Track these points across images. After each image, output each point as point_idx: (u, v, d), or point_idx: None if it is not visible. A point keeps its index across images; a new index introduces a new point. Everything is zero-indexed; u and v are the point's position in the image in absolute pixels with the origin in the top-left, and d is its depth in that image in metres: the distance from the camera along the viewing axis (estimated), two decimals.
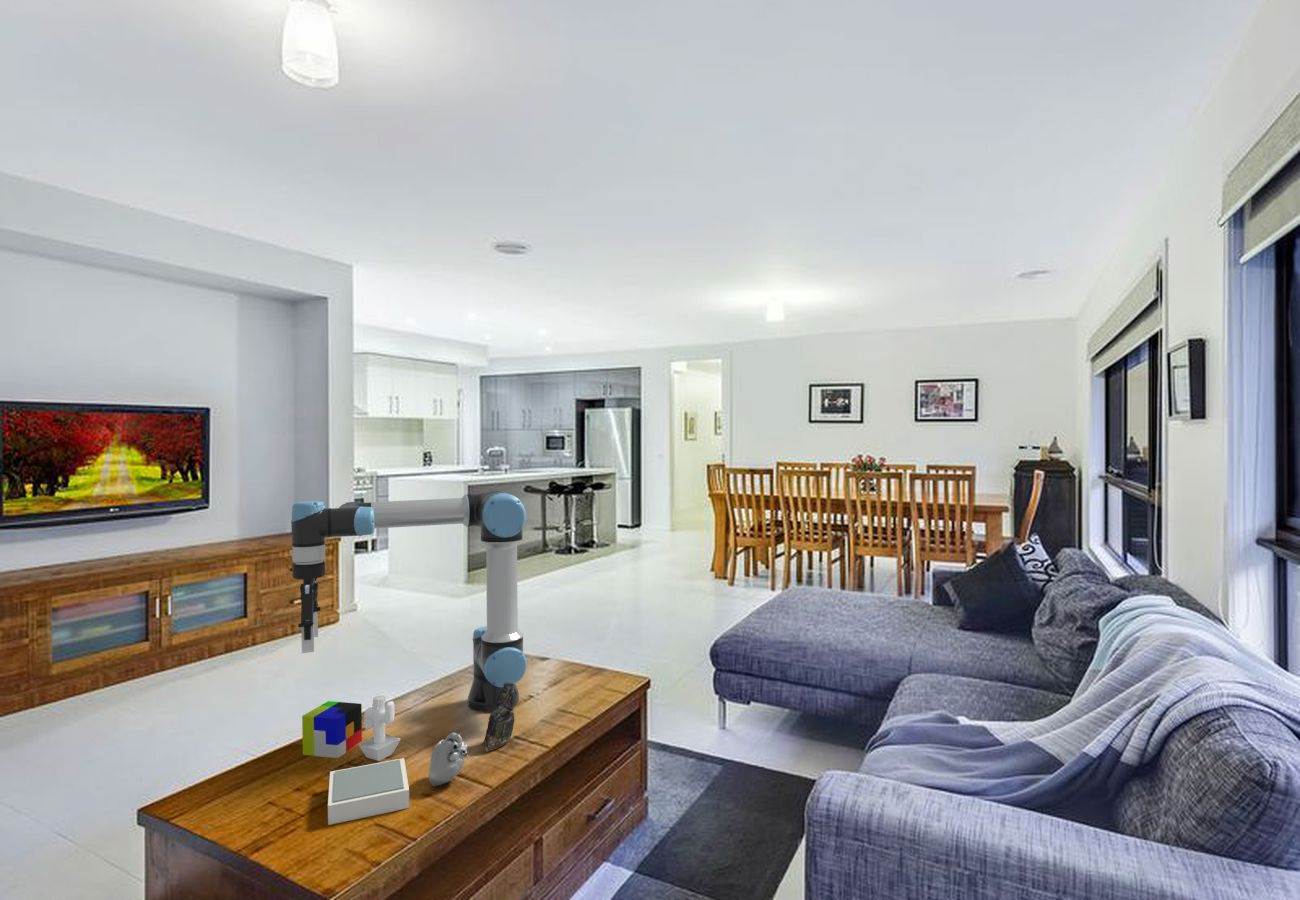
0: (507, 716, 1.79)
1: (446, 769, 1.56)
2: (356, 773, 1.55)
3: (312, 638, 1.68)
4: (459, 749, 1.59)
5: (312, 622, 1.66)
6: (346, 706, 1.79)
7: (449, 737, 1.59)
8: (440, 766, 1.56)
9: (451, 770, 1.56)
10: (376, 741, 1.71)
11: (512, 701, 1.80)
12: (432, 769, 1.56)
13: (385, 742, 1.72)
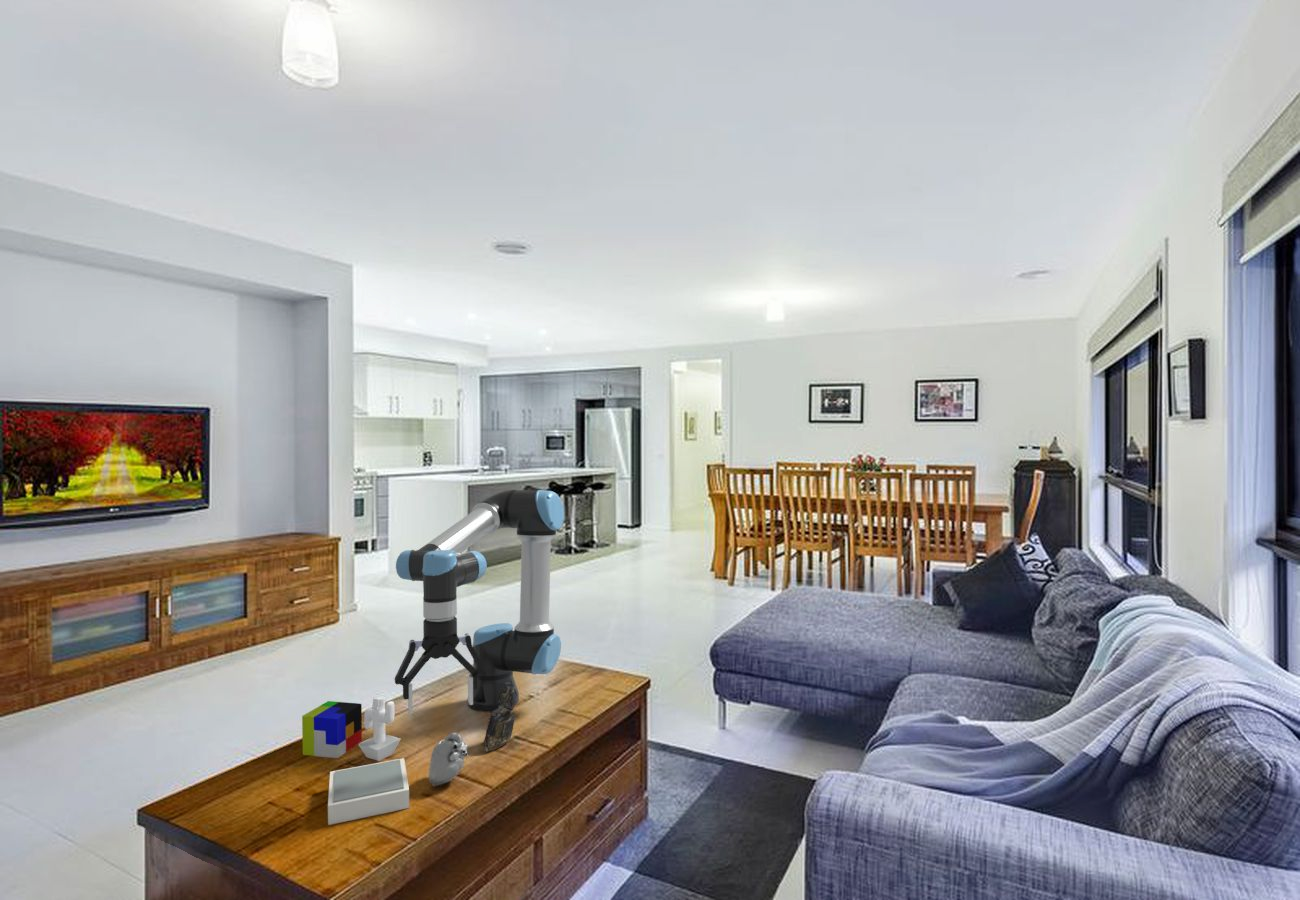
0: (507, 716, 1.79)
1: (446, 769, 1.56)
2: (356, 773, 1.55)
3: (408, 699, 1.56)
4: (459, 749, 1.59)
5: (396, 681, 1.55)
6: (346, 706, 1.79)
7: (449, 737, 1.59)
8: (440, 766, 1.56)
9: (451, 770, 1.56)
10: (376, 741, 1.71)
11: (512, 701, 1.80)
12: (432, 769, 1.56)
13: (385, 742, 1.72)
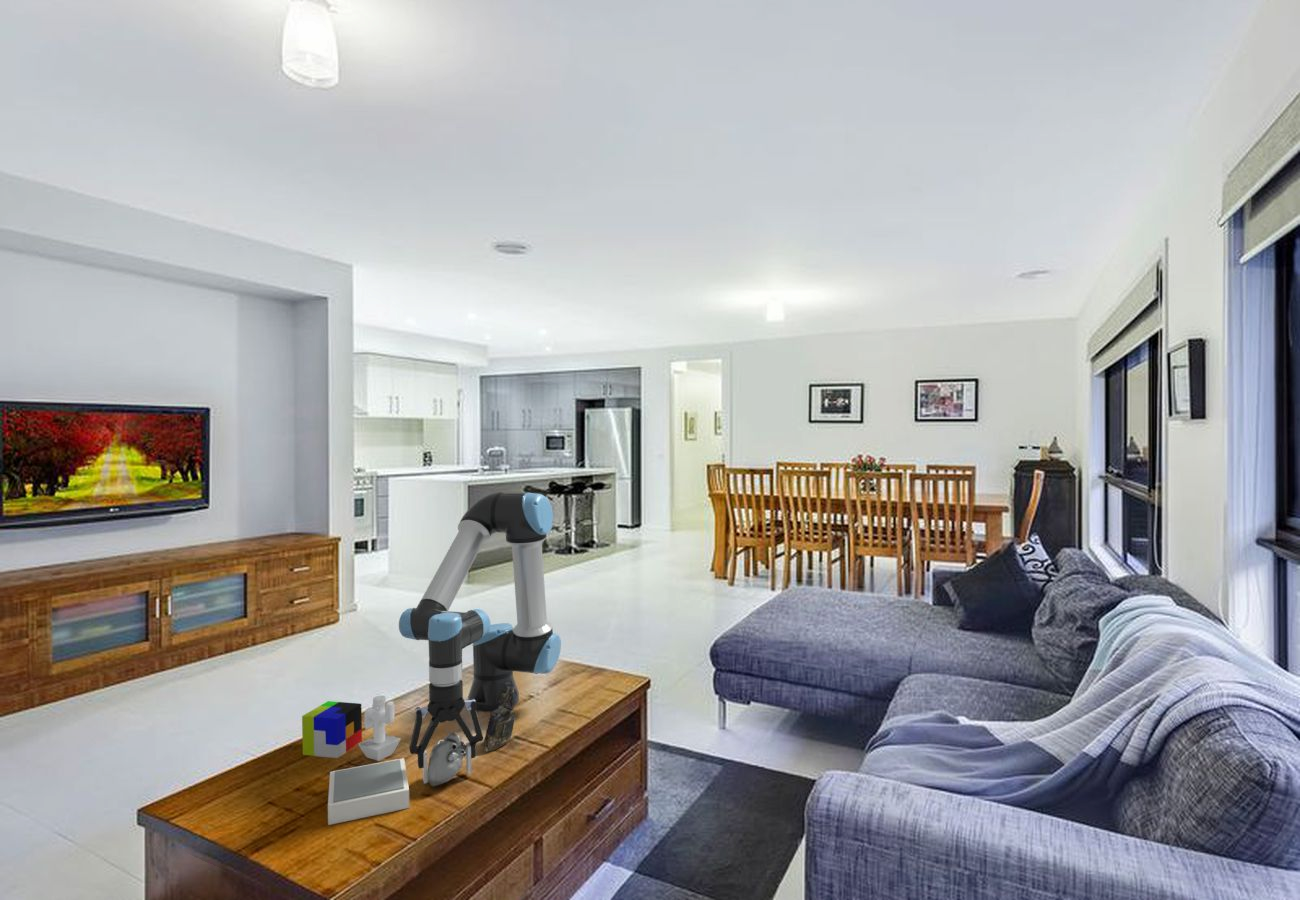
0: (507, 716, 1.79)
1: (445, 769, 1.55)
2: (356, 773, 1.55)
3: (423, 768, 1.57)
4: (458, 749, 1.59)
5: (411, 751, 1.55)
6: (346, 706, 1.79)
7: (448, 737, 1.59)
8: (439, 766, 1.55)
9: (450, 770, 1.56)
10: (376, 741, 1.71)
11: (512, 701, 1.80)
12: (431, 769, 1.56)
13: (385, 742, 1.72)
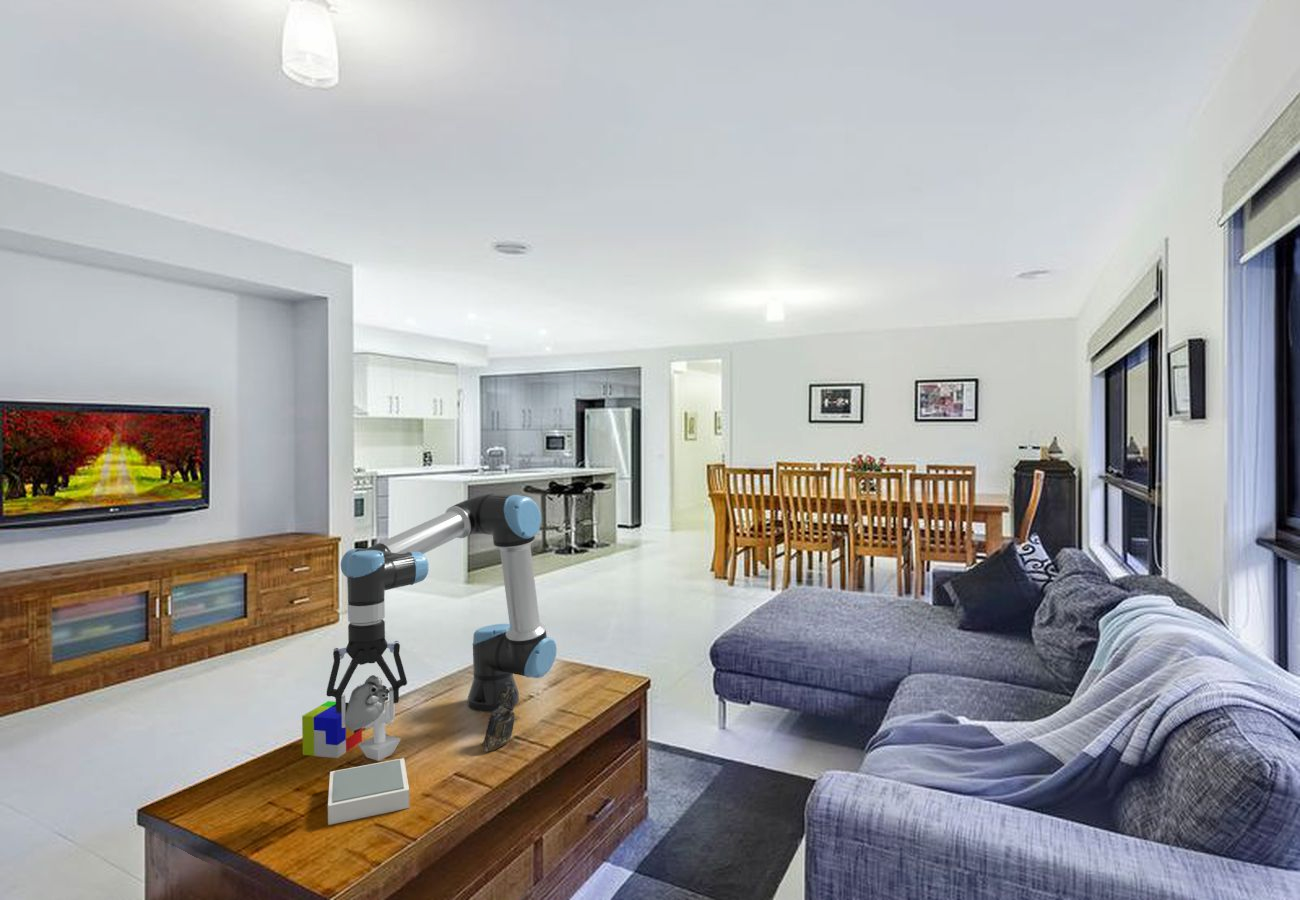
0: (507, 716, 1.79)
1: (363, 712, 1.47)
2: (356, 773, 1.55)
3: None
4: (379, 693, 1.51)
5: (328, 693, 1.47)
6: (346, 706, 1.79)
7: (368, 680, 1.50)
8: (357, 709, 1.47)
9: (368, 714, 1.48)
10: (376, 741, 1.71)
11: (512, 701, 1.80)
12: (348, 712, 1.48)
13: (385, 742, 1.72)
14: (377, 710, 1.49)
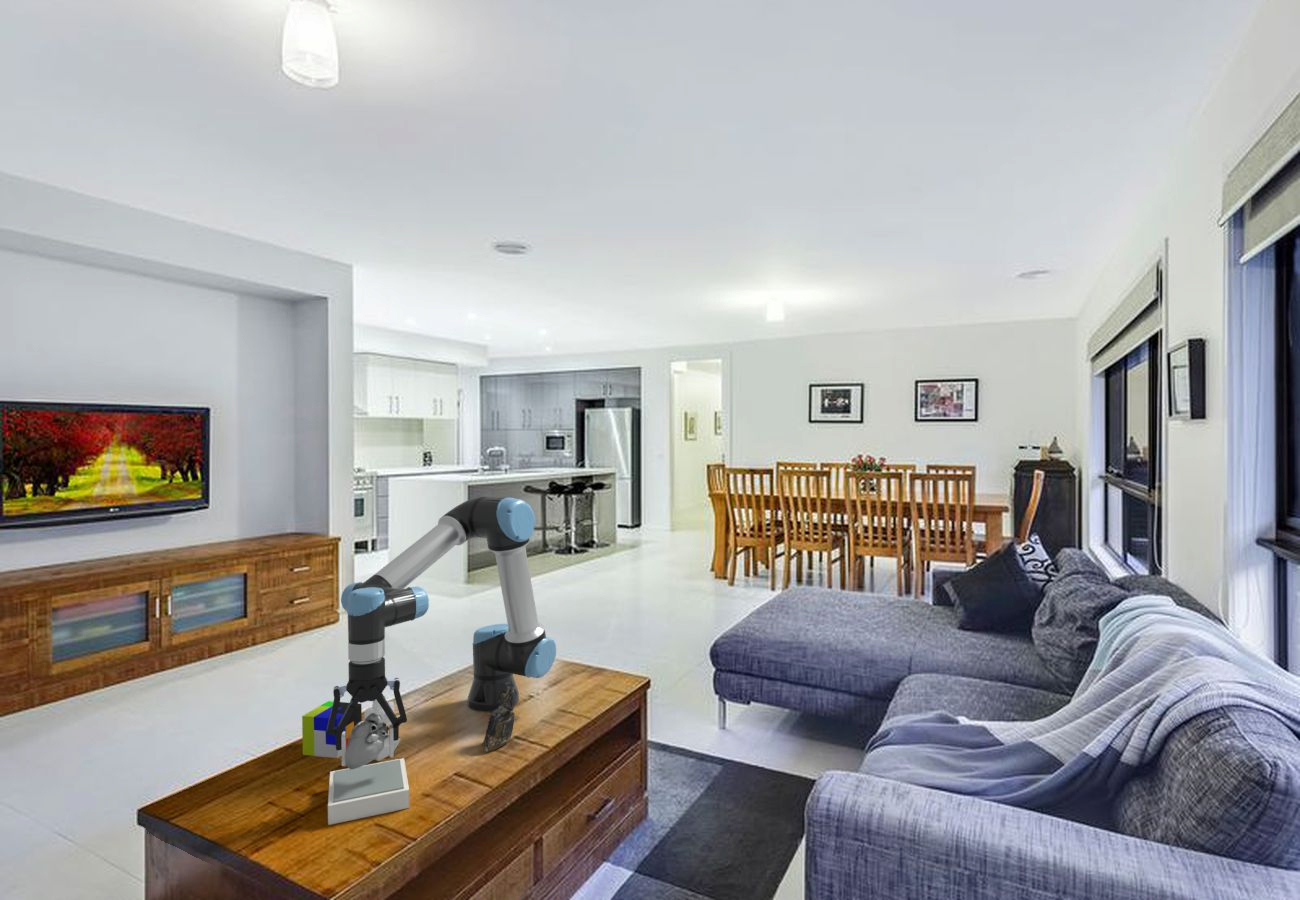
0: (507, 716, 1.79)
1: (363, 751, 1.47)
2: (356, 773, 1.55)
3: None
4: (379, 731, 1.51)
5: (328, 732, 1.48)
6: (346, 706, 1.79)
7: (368, 718, 1.51)
8: (357, 748, 1.47)
9: (368, 752, 1.48)
10: None
11: (512, 701, 1.80)
12: (348, 751, 1.48)
13: (385, 742, 1.72)
14: (377, 748, 1.49)
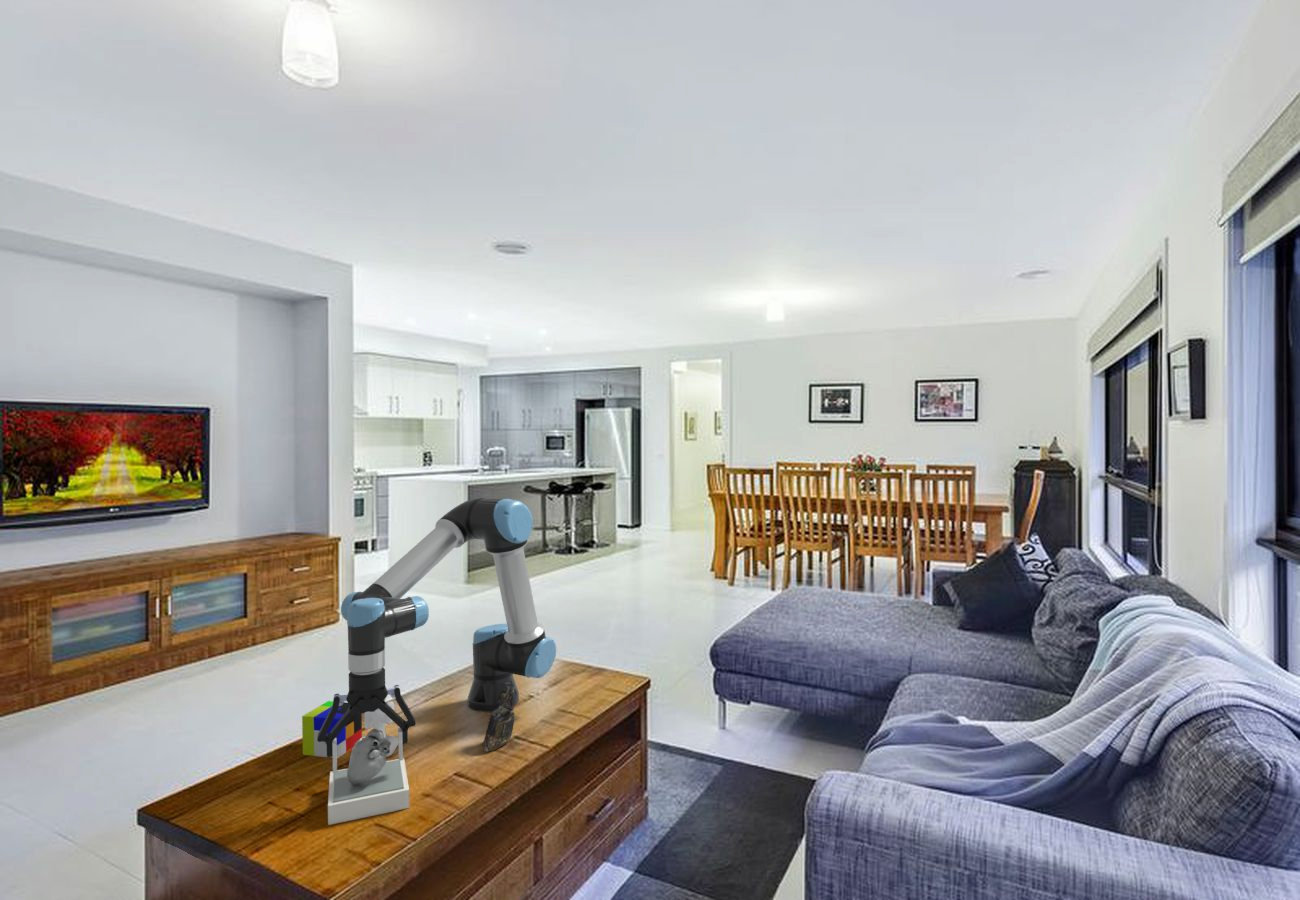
0: (507, 716, 1.79)
1: (365, 767, 1.48)
2: None
3: None
4: (380, 746, 1.51)
5: (318, 739, 1.47)
6: (346, 706, 1.79)
7: (370, 734, 1.51)
8: (359, 764, 1.48)
9: (371, 768, 1.48)
10: None
11: (512, 701, 1.80)
12: (350, 767, 1.48)
13: None
14: (379, 764, 1.50)
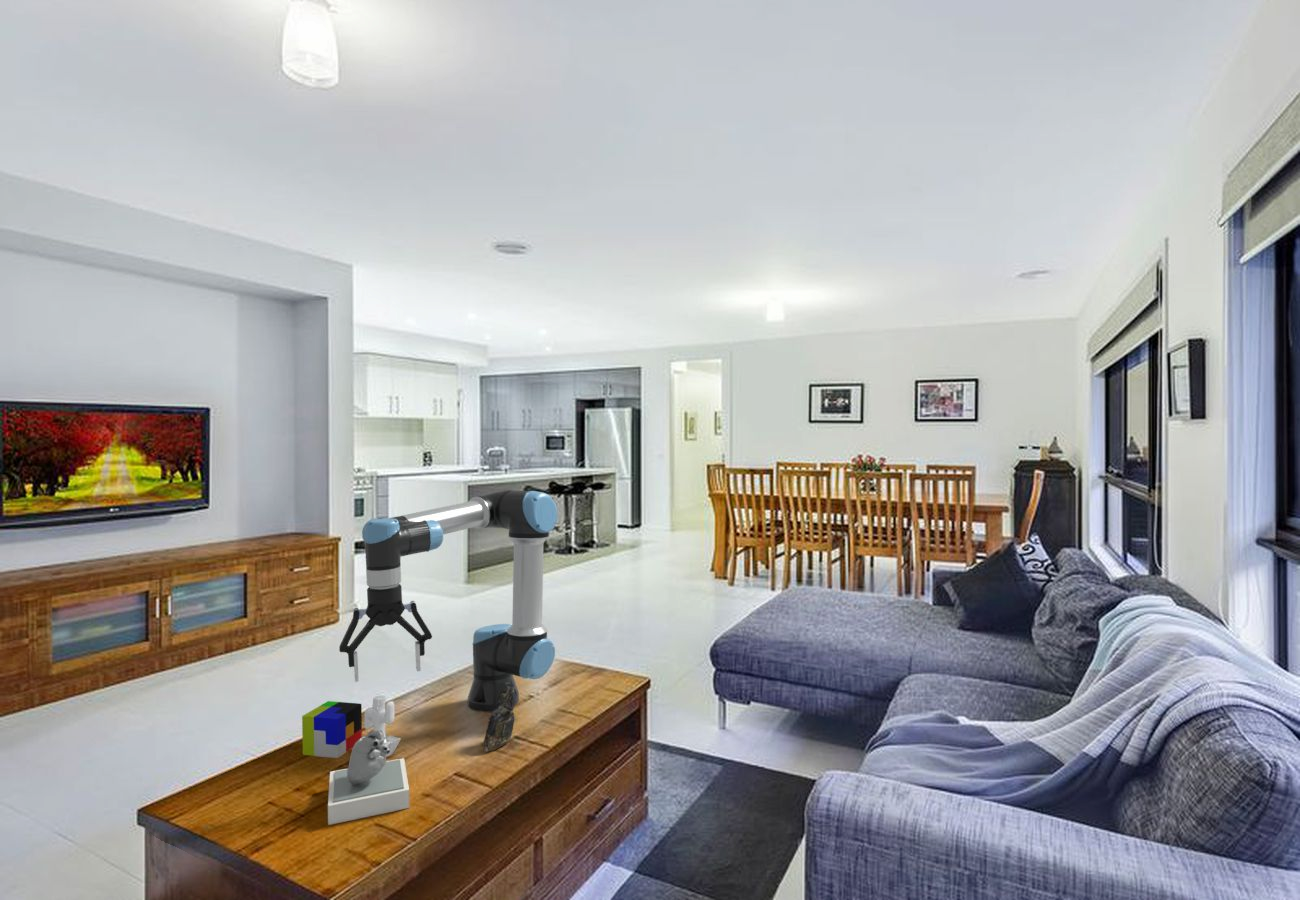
0: (507, 716, 1.79)
1: (365, 767, 1.48)
2: None
3: (354, 667, 1.56)
4: (380, 746, 1.51)
5: (340, 649, 1.55)
6: (346, 706, 1.79)
7: (370, 734, 1.51)
8: (359, 764, 1.48)
9: (371, 768, 1.48)
10: None
11: (512, 701, 1.80)
12: (350, 767, 1.48)
13: None
14: (379, 764, 1.50)
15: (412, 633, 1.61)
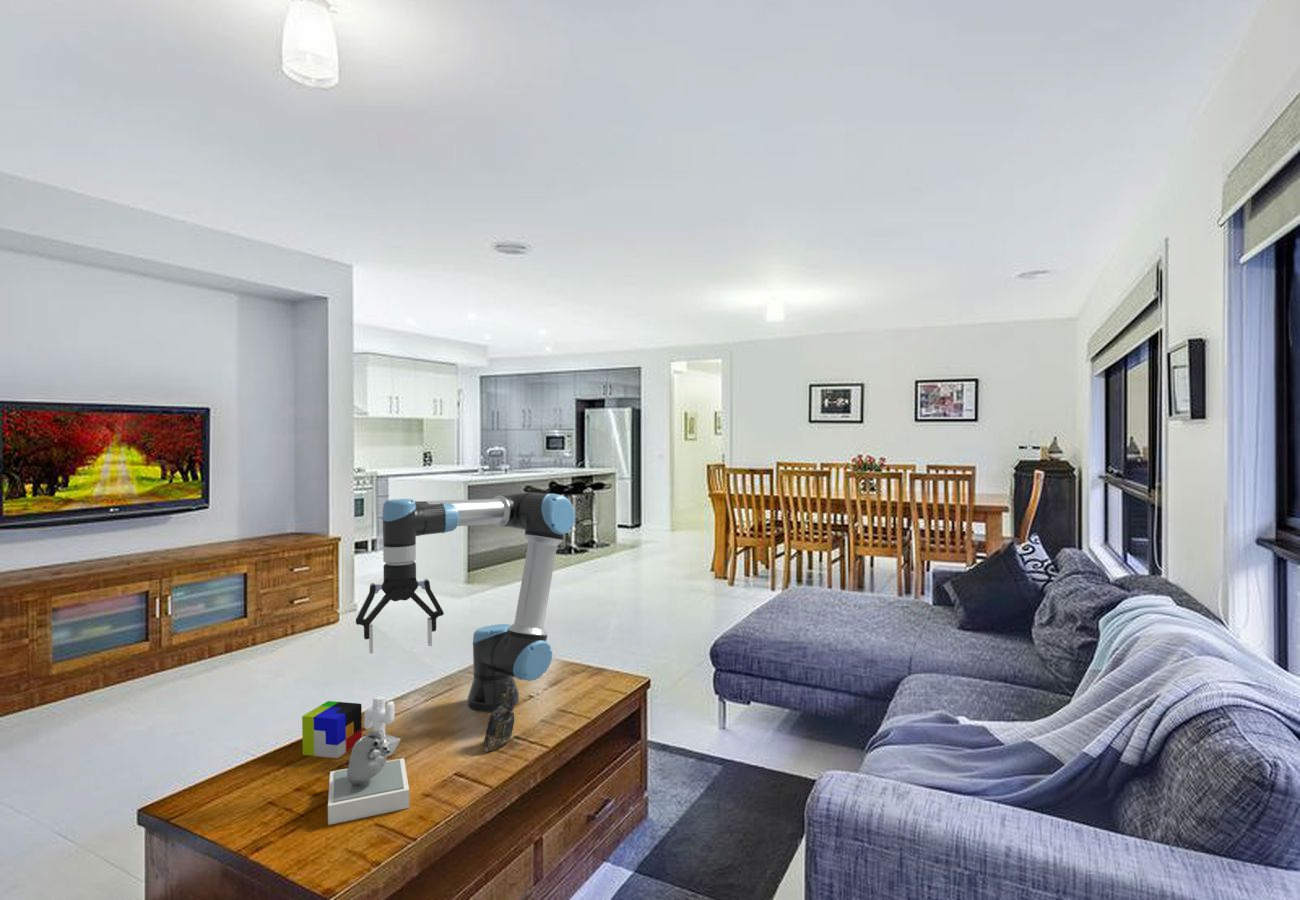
0: (507, 716, 1.79)
1: (365, 767, 1.48)
2: None
3: (369, 639, 1.64)
4: (380, 746, 1.51)
5: (357, 622, 1.62)
6: (346, 706, 1.79)
7: (370, 734, 1.51)
8: (359, 764, 1.48)
9: (371, 768, 1.48)
10: None
11: (512, 701, 1.80)
12: (350, 767, 1.48)
13: None
14: (379, 764, 1.50)
15: (425, 609, 1.69)
